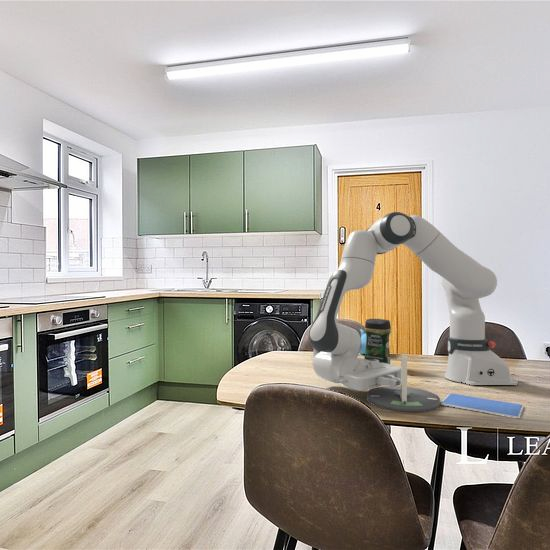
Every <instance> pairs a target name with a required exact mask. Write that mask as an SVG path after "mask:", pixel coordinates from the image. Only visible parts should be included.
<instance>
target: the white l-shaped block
mask: <svg viewBox="0 0 550 550" xmlns="http://www.w3.org/2000/svg"><path fill="white" fill-rule="evenodd" d="M400 358H401V363H400V364H401V365H400V368H401V385H400V386H401V389H397V390H395V394H396V395H400V398H401V399H402V402H403V403H404V404H406V403H407V396H409V395H411V392H410V391H409V390H407V387H408V356H407V354H406V353H401V357H400Z"/></svg>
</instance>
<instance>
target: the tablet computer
mask: <svg viewBox="0 0 550 550" xmlns="http://www.w3.org/2000/svg"><path fill="white" fill-rule="evenodd" d="M442 405H444V407H447V406H449V407H448V408H453V407H455V408H454V409H459V408H461V409H460V410H464V409H467V410H466V411H470V410H473V411H472V412H475V411H479V412H478V413H481V412H485V413H484V414H486V413H491V414H490V415H492V414H498V415H504V416H510V417H516V418H519V417H520V415H521V416H522V414H521V412H522V410H523V411H524V409H523V407H524V408H525V406H524V405H523V404H521V403H520V404H519V403H513V402H507V401H501V400H500V401H499V400H495V399H487V398H483V397H475V396H472V395H471V396H470V395H466V394H465V395H464V394H460V393H459V394H457V393H449V394H447V396H446V397H445V398H444V399H443V400H441V401H440V406H442ZM522 413H523V412H522ZM498 415H497V416H498ZM520 418H521V417H520Z"/></svg>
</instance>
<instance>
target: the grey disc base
mask: <svg viewBox="0 0 550 550" xmlns="http://www.w3.org/2000/svg"><path fill="white" fill-rule="evenodd" d="M397 389H401V385H398V386H394V387H392V386H379V387H375V388H372V389H368V390H366V401H367V400H368V401H369V402H370V404H371V403H372V404H371V405H373V404H374V405H373V406H375V405H376V407H378V408H382V409H384V408H385V409H384V410H388V409H389V410H390V411H395V412H403V413H422V412H423V413H424V412H425V411H426V412H429V411H430V410H431V411H435V410H437V409H438V408H440V406H441V405H440V403H441V398H440V397H439V396H438V395H437V394H435V393H434V392H431V391H429V390H426V389H421V388H416V387H411V386H410V387H409V386H407V390H409V391H410V392H411V395H409V396H407V403H406V404H404V403H403V402H402V399H401V398H400V395H396V394H395V390H397ZM368 401H367V402H368ZM436 408H437V409H436ZM434 409H435V410H434ZM431 411H430V412H431Z"/></svg>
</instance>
